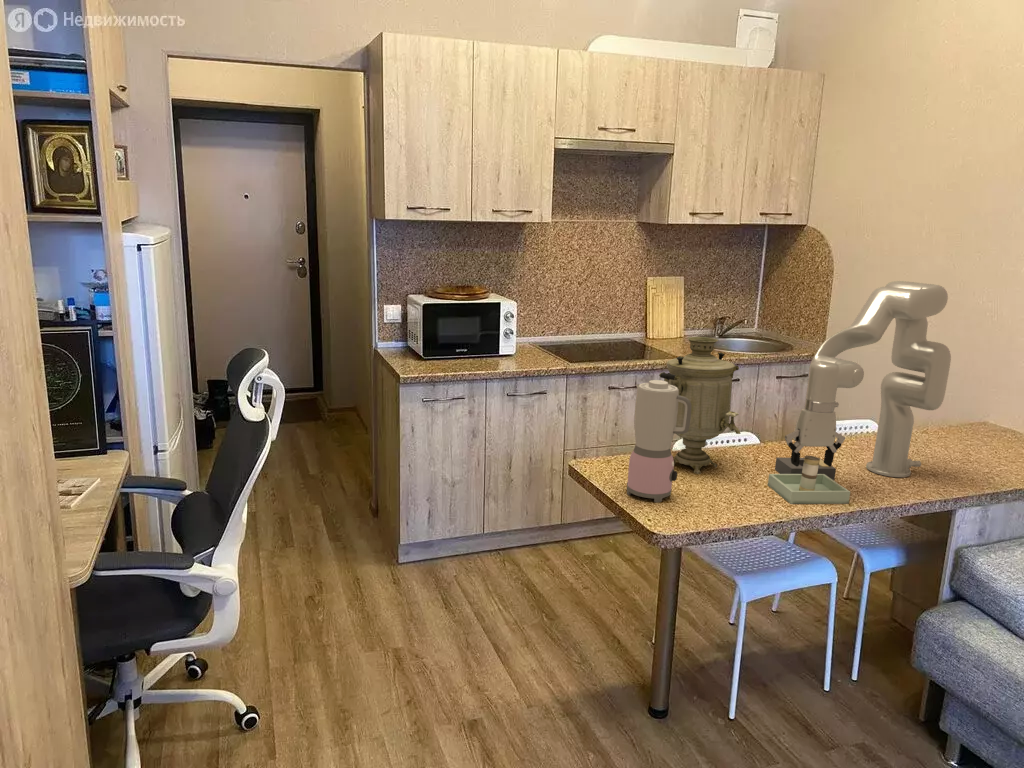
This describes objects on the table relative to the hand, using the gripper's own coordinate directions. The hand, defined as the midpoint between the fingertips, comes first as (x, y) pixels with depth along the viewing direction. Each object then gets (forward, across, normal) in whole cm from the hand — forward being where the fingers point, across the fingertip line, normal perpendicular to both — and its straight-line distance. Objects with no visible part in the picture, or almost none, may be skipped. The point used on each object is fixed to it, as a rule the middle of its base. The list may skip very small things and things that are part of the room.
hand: (811, 464), depth 207 cm
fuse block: (+9, -7, -15) cm, 19 cm away
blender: (+9, +45, +1) cm, 46 cm away
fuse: (+8, 0, 0) cm, 8 cm away
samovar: (+9, +25, -21) cm, 34 cm away
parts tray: (+9, 0, 0) cm, 9 cm away
